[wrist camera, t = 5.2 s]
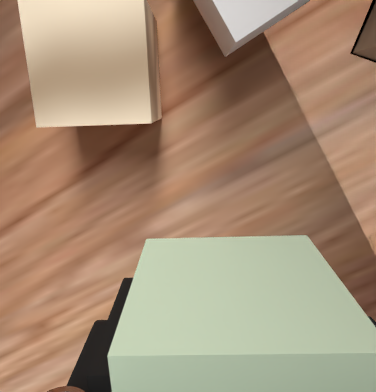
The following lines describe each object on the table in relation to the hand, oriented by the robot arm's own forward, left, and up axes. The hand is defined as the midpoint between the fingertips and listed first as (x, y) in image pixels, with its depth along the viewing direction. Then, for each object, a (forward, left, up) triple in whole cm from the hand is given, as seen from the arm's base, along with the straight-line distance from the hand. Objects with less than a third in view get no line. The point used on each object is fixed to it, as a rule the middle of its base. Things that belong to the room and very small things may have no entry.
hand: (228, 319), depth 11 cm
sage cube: (0, 0, -1) cm, 1 cm away
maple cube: (-8, -5, -11) cm, 14 cm away
